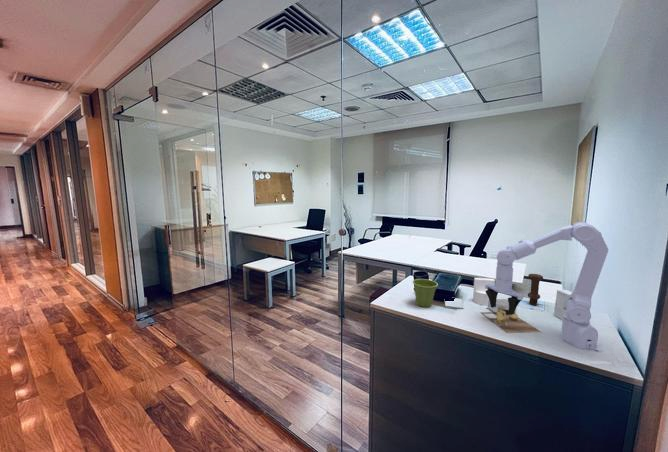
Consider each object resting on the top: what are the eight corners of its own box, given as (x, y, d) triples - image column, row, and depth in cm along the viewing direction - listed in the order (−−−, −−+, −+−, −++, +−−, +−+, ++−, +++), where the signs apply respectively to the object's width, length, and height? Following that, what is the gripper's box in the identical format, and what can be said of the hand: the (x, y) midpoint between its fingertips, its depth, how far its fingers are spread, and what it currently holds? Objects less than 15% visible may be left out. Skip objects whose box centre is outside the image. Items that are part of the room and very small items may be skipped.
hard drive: (464, 308, 126) (461, 298, 137) (445, 305, 128) (444, 296, 140) (463, 311, 126) (461, 301, 137) (445, 309, 129) (444, 299, 140)
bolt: (542, 307, 129) (545, 277, 127) (530, 306, 130) (533, 276, 128) (535, 302, 135) (538, 273, 133) (524, 301, 136) (527, 273, 134)
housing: (515, 314, 119) (516, 305, 118) (497, 314, 118) (498, 305, 118) (505, 307, 126) (505, 299, 125) (487, 307, 125) (488, 299, 125)
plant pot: (410, 307, 129) (411, 284, 128) (413, 298, 140) (413, 277, 139) (436, 311, 125) (437, 288, 123) (437, 302, 135) (438, 280, 134)
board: (543, 334, 104) (544, 327, 103) (506, 335, 103) (507, 327, 103) (504, 309, 127) (504, 303, 126) (473, 309, 126) (473, 303, 126)
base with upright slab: (475, 304, 132) (477, 281, 131) (470, 298, 141) (472, 275, 139) (496, 306, 130) (497, 282, 129) (489, 299, 139) (491, 277, 137)
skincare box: (553, 315, 120) (555, 289, 119) (562, 315, 121) (565, 289, 119) (565, 321, 114) (568, 294, 113) (575, 321, 114) (578, 294, 113)
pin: (505, 327, 110) (507, 313, 109) (498, 326, 110) (499, 312, 109) (502, 323, 112) (503, 310, 112) (494, 323, 113) (495, 309, 112)
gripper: (529, 282, 104) (526, 315, 106) (493, 272, 117) (491, 302, 119) (517, 284, 101) (515, 319, 103) (482, 274, 114) (480, 305, 116)
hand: (502, 310), depth 110 cm, fingers open, 7 cm apart
